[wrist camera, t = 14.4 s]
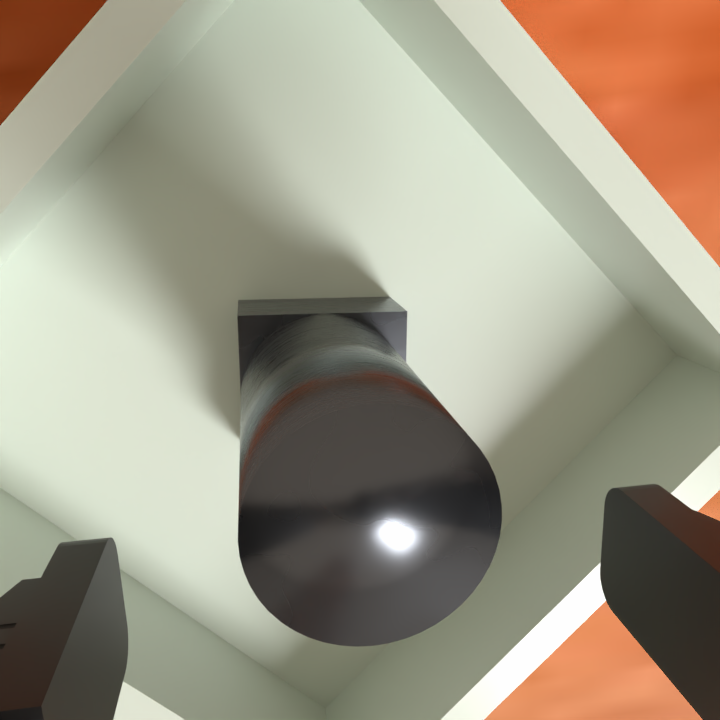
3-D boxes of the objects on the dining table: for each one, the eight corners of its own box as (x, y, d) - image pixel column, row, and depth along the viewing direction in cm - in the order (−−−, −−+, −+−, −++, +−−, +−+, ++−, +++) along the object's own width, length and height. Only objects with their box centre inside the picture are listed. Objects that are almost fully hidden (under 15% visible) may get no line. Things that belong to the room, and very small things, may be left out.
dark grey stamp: (389, 296, 19) (509, 397, 11) (387, 436, 20) (494, 633, 12) (238, 300, 19) (232, 409, 10) (244, 444, 20) (243, 659, 11)
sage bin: (698, 345, 22) (820, 390, 18) (323, 720, 24) (342, 857, 19) (290, -120, 17) (308, -234, 12) (-159, 397, 19) (-298, 473, 14)
